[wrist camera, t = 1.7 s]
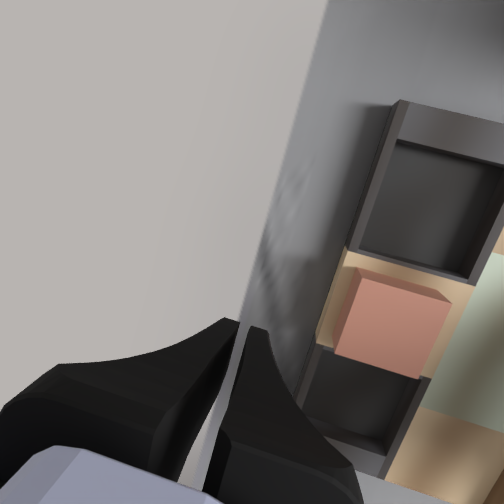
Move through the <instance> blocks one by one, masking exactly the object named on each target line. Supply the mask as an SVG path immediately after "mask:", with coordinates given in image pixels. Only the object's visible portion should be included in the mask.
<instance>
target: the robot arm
mask: <svg viewBox="0 0 504 504" xmlns="http://www.w3.org/2000/svg"><path fill="white" fill-rule="evenodd" d="M239 324H240V322H238V321H234V320H231V319H228V318H225V317H224V318H222V319H220V320H219V321H217V322H216V323H214V324H213V325H211V326H209V327H207V328H206V329H204V330H202V331H201V332H199V333H197V334H195V335H193V336H192V337H190V338H188V339H185V340H183V341H181V342H179V343H177V344H174V345H172V346H169V347H167V348H163V349H161V350H157V351H154V352H150V353H146V354H142V355H138V356H134V357H130V358H123V359H118V360H111V361H102V362H91V363H71V364H70V363H69V364H58V365H56V366H55V367H53V368H52V369H51V370H49V371H47V372H46V373H45V374H43V375H42V376H41V377H39V378H38V379H37V380H36V381H34V382H33V383H32V384H31V385H29V386H28V387H27V388H25V389H24V390H23V391H22V392H20V393H19V394H18V395H17V396H16V397H14V398H13V399H11V400H10V401H9V402H8V403H6V404H5V405H4V407H3V408H2V410H1V412H0V504H364V502H363V497H362V494H361V490H360V486H359V483H358V480H357V476H356V473H355V470H354V466H353V464H352V463H351V462H350V461H349V460H348V459H347V458H346V457H345V456H343V455H342V454H341V453H340V452H339V451H338V450H337V449H336V448H335V447H334V446H333V445H331V444H330V443H329V442H328V441H327V440H326V439H325V438H324V436H323V435H322V434H321V433H320V432H319V431H318V430H317V429H316V428H315V427H314V426H313V424H312V423H311V422H310V421H309V420H308V418H307V417H306V416H305V414H304V413H303V412H302V410H301V409H300V408H299V406H298V405H297V403H296V402H295V400H294V399H293V397H292V396H291V394H290V392H289V391H288V389H287V387H286V385H285V383H284V381H283V379H282V376H281V374H280V372H279V369H278V367H277V364H276V361H275V358H274V355H273V352H272V348H271V344H270V339H269V333H268V331H267V330H263V329H260V328H257V327H254V326H251V327H250V329H249V331H248V334H247V338H246V341H245V345H244V348H243V352H242V356H241V359H240V363H239V366H238V370H237V374H236V377H235V381H234V385H233V388H232V392H231V395H230V400H229V404H228V408H227V411H226V413H225V415H224V418H223V420H222V423H221V425H220V427H219V431H218V435H217V438H216V442H215V446H214V449H213V453H212V456H211V460H210V464H209V467H208V471H207V475H206V478H205V482H204V486H203V489H202V491H199V490H196V489H193V488H191V487H188V486H185V485H182V484H180V483H177V481H178V479H179V476H180V474H181V471H182V469H183V466H184V464H185V461H186V458H187V456H188V454H189V452H190V449H191V447H192V445H193V443H194V441H195V439H196V437H197V435H198V433H199V431H200V429H201V427H202V425H203V423H204V421H205V419H206V417H207V415H208V413H209V411H210V409H211V407H212V405H213V404H214V402H215V400H216V398H217V396H218V393H219V391H220V388H221V386H222V383H223V380H224V378H225V375H226V372H227V369H228V365H229V362H230V358H231V354H232V351H233V347H234V343H235V339H236V336H237V332H238V328H239Z"/></svg>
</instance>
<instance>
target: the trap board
mask: <svg viewBox="0 0 504 504" xmlns="http://www.w3.org/2000/svg"><path fill="white" fill-rule="evenodd" d="M356 267H359V268H362V269H366V270H369V271H373V272H376V273H380V274H383V275H387V276H390V277H394V278H397V279H401V280H404V281H408V282H411V283H415V284H419V285H422V286H426V287H429V288H433V289H436V290H438V291H439V292H440V293H441V294H442V295H443V296H445V297H446V298H447V299H448V300H449V301H450V302H451V303H452V306H451V308H450V311H449V313H448V315H447V317H446V319H445V322H444V324H443V326H442V328H441V330H440V332H439V335H438V337H437V339H436V341H435V343H434V346H433V348H432V350H431V352H430V354H429V356H428V359H427V361H426V363H425V365H424V367H423V370H422V372H421V374H420V376H419V378H418V379H415V378H411V377H408V376H405V375H402V374H399V373H395V372H392V371H389V370H386V369H383V368H379V367H376V366H373V365H370V364H366V363H363V362H360V361H357V360H354V359H350V358H347V357H344V356H341V355H338V354H335V353H334V347H333V340H332V334H333V331H334V329H335V326H336V323H337V320H338V317H339V315H340V312H341V309H342V306H343V303H344V301H345V298H346V295H347V292H348V289H349V287H350V284H351V281H352V278H353V275H354V273H355V270H356ZM293 399H294V400H295V402H296V403H297V405H298V406H299V408H300V409H301V410H302V412H303V413H304V414H305V416H306V417H307V418H308V420H309V421H310V422H311V423H312V424H313V426H314V427H315V428H316V429H317V430H318V431H319V432H320V433H321V434H322V435H323V436H324V438H325V439H326V440H327V441H328V442H329V443H330V444H331V445H333V446H334V447H335V448H336V449H337V450H338V451H339V452H340V453H341V454H342V455H343V456H345V457H346V458H347V459H348V460H349V461H350V462H351V463H352V464H353V466H354V470H357V471H359V472H362V473H365V474H368V475H371V476H374V477H377V478H380V479H383V480H386V481H389V482H392V483H394V484H397V485H400V486H403V487H406V488H409V489H412V490H415V491H418V492H421V493H424V494H427V495H429V496H432V497H435V498H438V499H441V500H444V501H447V502H450V503H453V504H504V124H502V123H498V122H494V121H490V120H485V119H481V118H477V117H472V116H468V115H464V114H460V113H455V112H451V111H447V110H443V109H438V108H434V107H430V106H425V105H421V104H417V103H413V102H408V101H404V100H399V101H397V102H396V103H395V104H394V105H392V108H391V111H390V114H389V117H388V120H387V123H386V126H385V129H384V132H383V134H382V137H381V140H380V143H379V146H378V149H377V152H376V155H375V158H374V161H373V164H372V167H371V170H370V173H369V176H368V179H367V181H366V184H365V187H364V190H363V193H362V196H361V199H360V202H359V205H358V208H357V211H356V214H355V217H354V220H353V223H352V226H351V228H350V231H349V234H348V237H347V240H346V243H345V246H344V249H343V252H342V255H341V258H340V261H339V264H338V267H337V270H336V273H335V275H334V278H333V281H332V284H331V287H330V290H329V293H328V296H327V299H326V302H325V305H324V308H323V311H322V314H321V317H320V319H319V322H318V325H317V328H316V331H315V334H314V337H313V340H312V343H311V346H310V349H309V352H308V355H307V358H306V361H305V364H304V366H303V369H302V372H301V375H300V378H299V381H298V384H297V387H296V390H295V393H294V396H293Z"/></svg>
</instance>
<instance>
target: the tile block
mask: <svg viewBox="0 0 504 504" xmlns="http://www.w3.org/2000/svg"><path fill="white" fill-rule="evenodd" d="M451 306H452V303H451V302H450V301H449V300H448V299H447V298H446V297H445V296H443V295H442V294H441V293H440V292H439V291H438V290H436V289H433V288H429V287H426V286H422V285H419V284H415V283H411V282H408V281H404V280H401V279H397V278H394V277H390V276H387V275H383V274H380V273H376V272H373V271H369V270H366V269H362V268H359V267H356V270H355V273H354V275H353V278H352V281H351V284H350V287H349V289H348V292H347V295H346V298H345V301H344V303H343V306H342V309H341V312H340V315H339V317H338V320H337V323H336V326H335V329H334V331H333V334H332V340H333V347H334V353H335V354H338V355H341V356H344V357H347V358H350V359H354V360H357V361H360V362H363V363H366V364H370V365H373V366H376V367H379V368H383V369H386V370H389V371H392V372H395V373H399V374H402V375H405V376H408V377H411V378H415V379H418V378H419V376H420V374H421V372H422V370H423V367H424V365H425V363H426V361H427V359H428V356H429V354H430V352H431V350H432V348H433V346H434V343H435V341H436V339H437V337H438V335H439V332H440V330H441V328H442V326H443V324H444V322H445V319H446V317H447V315H448V313H449V311H450V308H451Z"/></svg>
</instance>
